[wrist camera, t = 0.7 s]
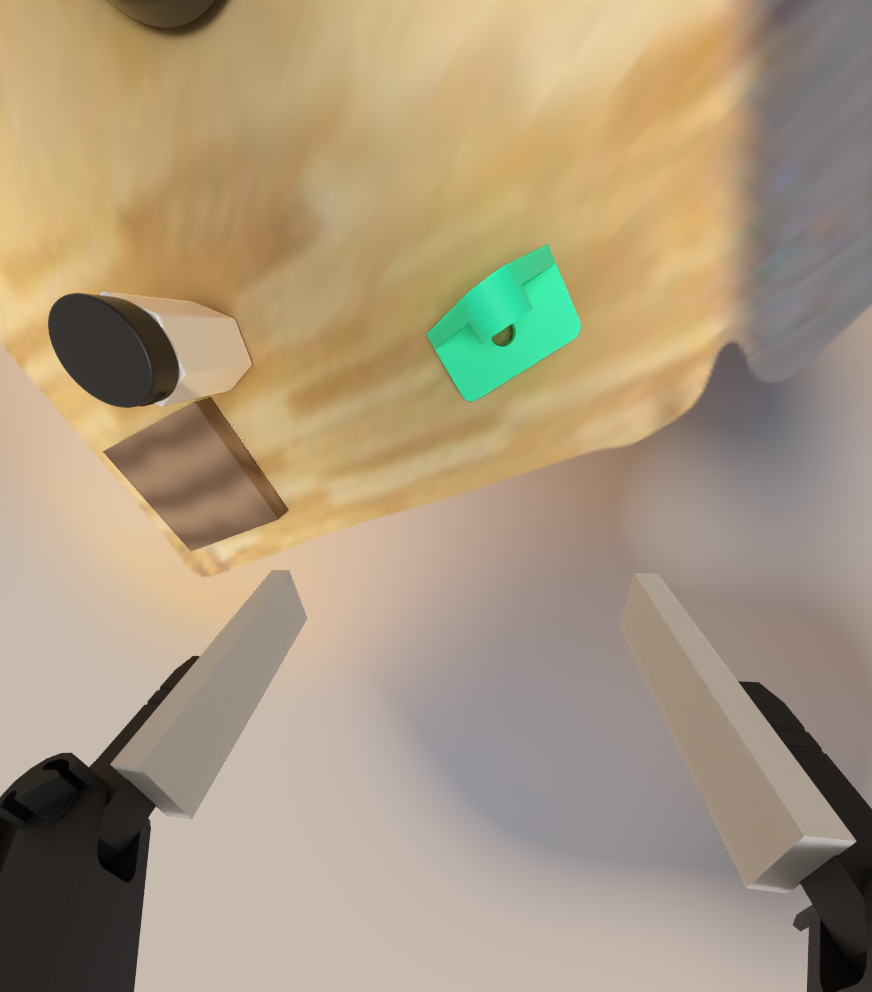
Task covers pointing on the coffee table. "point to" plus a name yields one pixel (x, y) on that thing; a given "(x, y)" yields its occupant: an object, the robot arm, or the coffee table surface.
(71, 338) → the jar
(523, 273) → the camera mount
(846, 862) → the robot arm
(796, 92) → the coffee table surface
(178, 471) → the plinth
